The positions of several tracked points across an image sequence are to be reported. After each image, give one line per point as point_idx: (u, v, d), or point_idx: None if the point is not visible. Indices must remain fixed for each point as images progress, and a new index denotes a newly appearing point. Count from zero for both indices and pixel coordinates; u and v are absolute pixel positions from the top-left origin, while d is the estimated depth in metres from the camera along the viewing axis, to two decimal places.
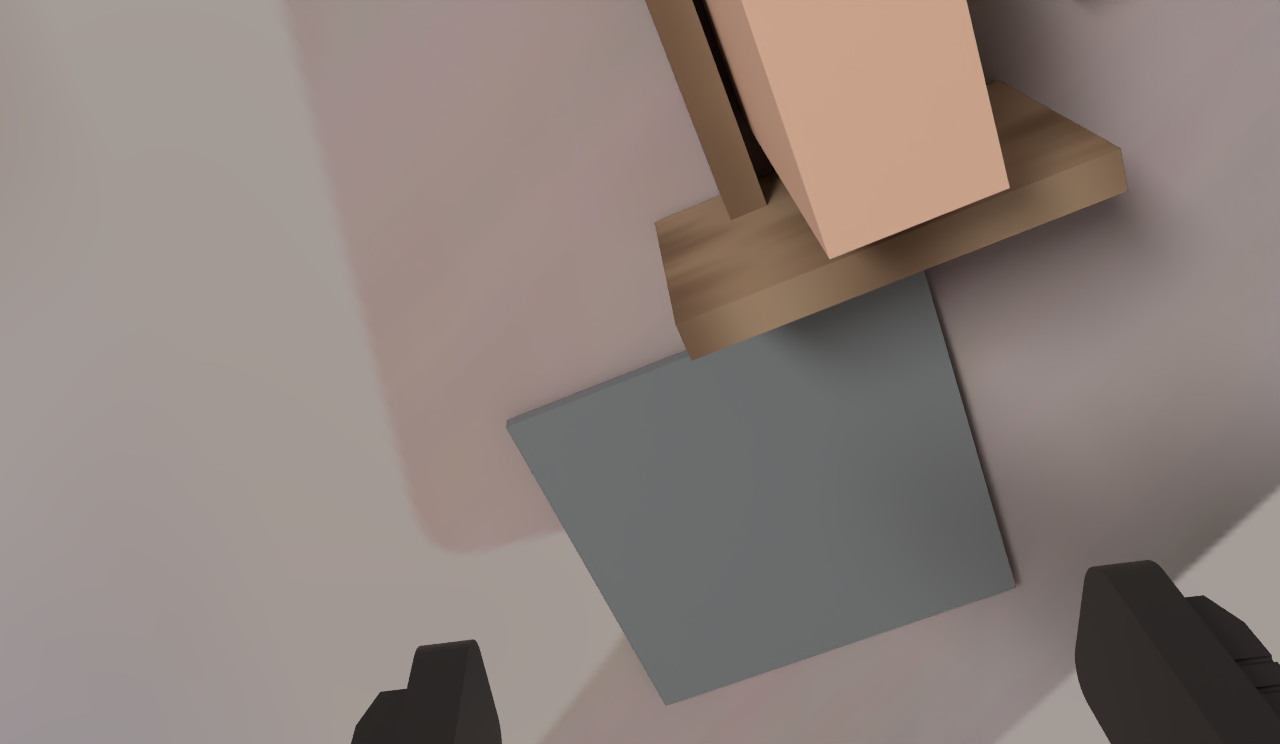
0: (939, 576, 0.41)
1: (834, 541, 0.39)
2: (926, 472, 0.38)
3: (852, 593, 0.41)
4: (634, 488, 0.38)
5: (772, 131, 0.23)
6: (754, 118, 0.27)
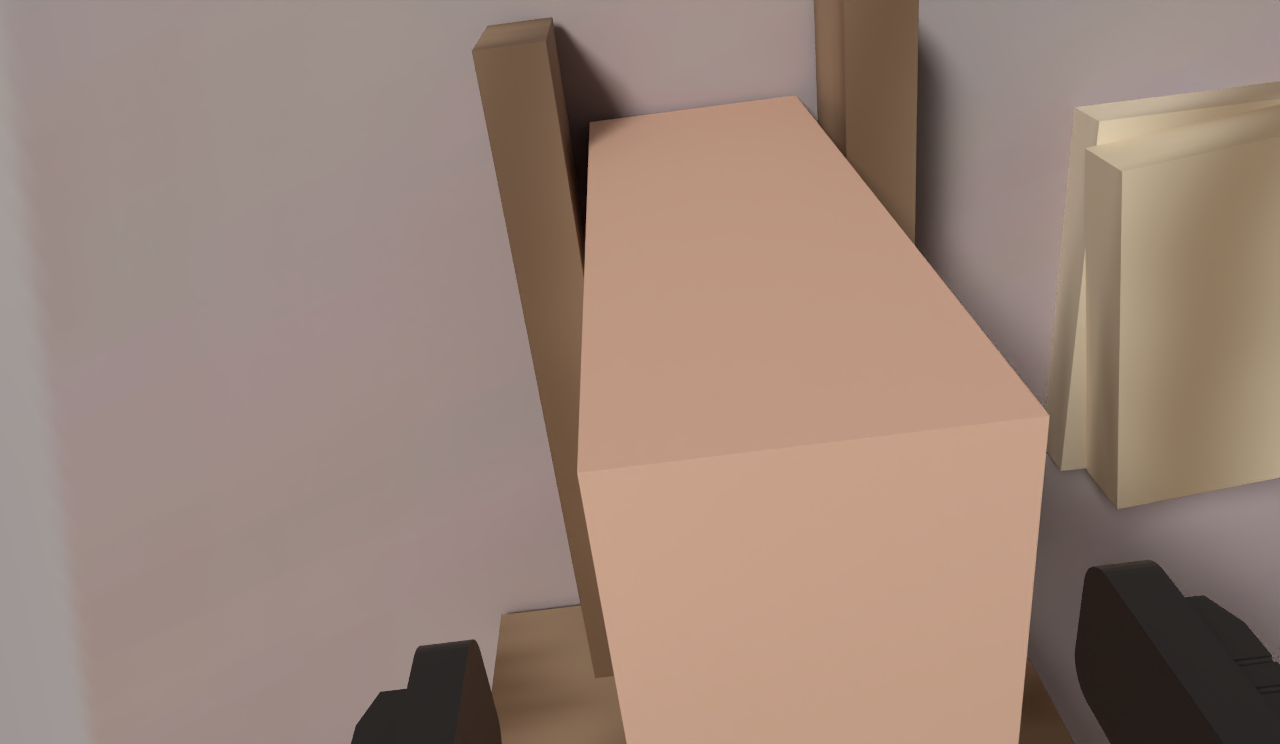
0: None
1: None
2: None
3: None
4: None
5: None
6: None
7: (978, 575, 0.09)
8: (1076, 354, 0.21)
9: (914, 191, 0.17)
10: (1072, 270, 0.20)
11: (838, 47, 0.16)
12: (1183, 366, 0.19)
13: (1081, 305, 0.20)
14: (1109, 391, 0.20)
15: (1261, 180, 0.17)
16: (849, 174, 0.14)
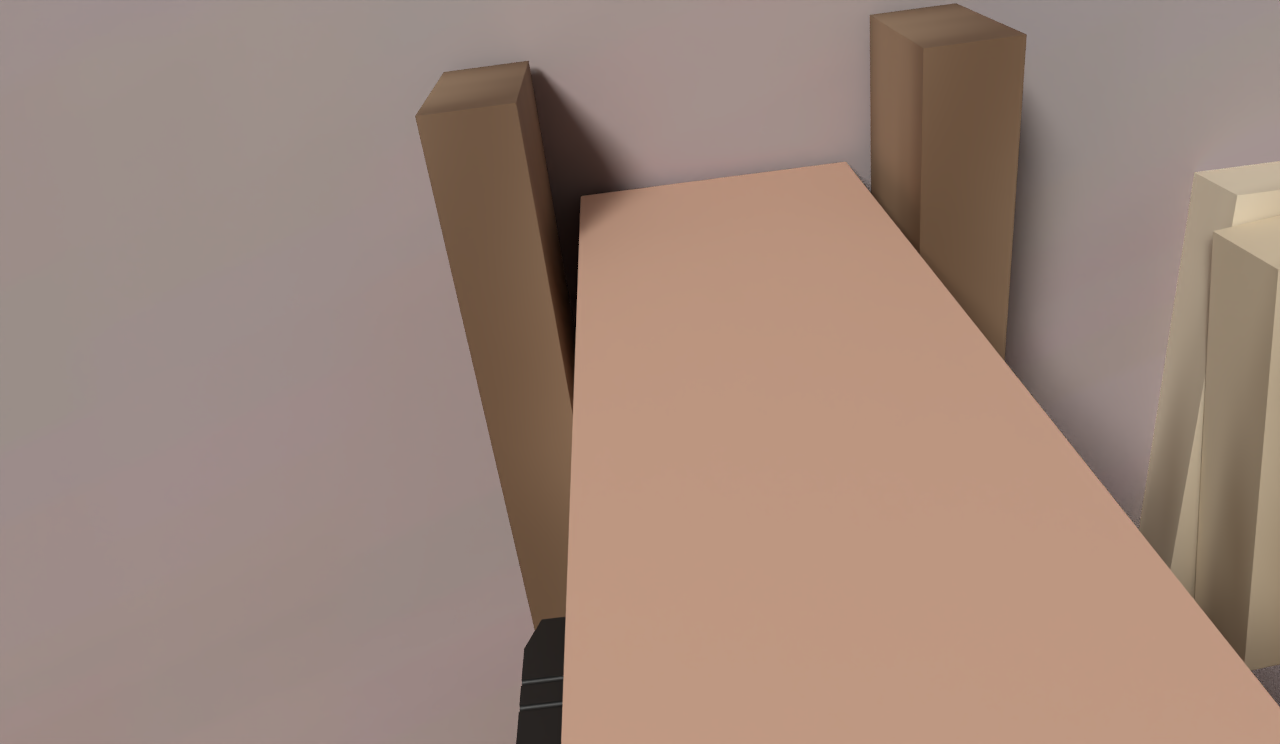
0: None
1: None
2: None
3: None
4: None
5: None
6: None
7: None
8: (1191, 476, 0.16)
9: (1007, 293, 0.13)
10: (1187, 374, 0.16)
11: (911, 106, 0.12)
12: None
13: (1200, 418, 0.16)
14: (1238, 532, 0.16)
15: None
16: (947, 305, 0.10)
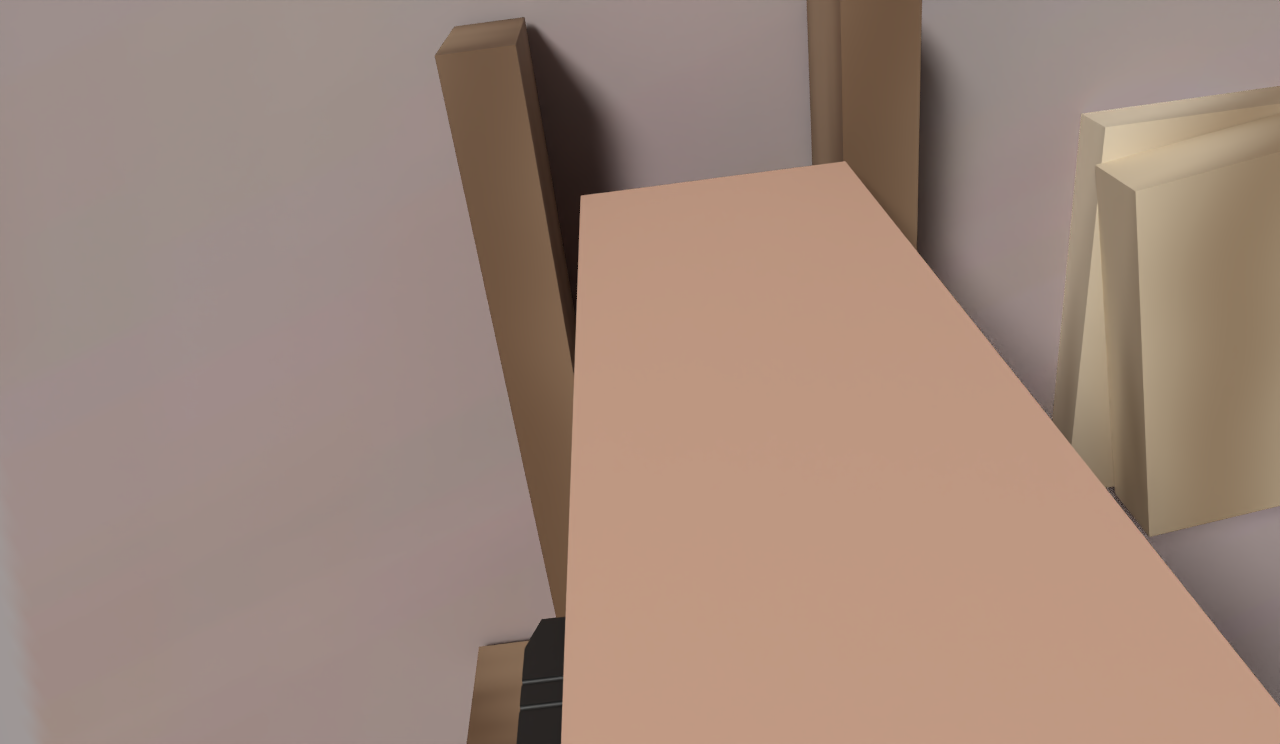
0: None
1: None
2: None
3: None
4: None
5: None
6: None
7: None
8: (1083, 372, 0.20)
9: (916, 205, 0.16)
10: (1077, 283, 0.19)
11: (834, 50, 0.15)
12: (1212, 388, 0.18)
13: (1087, 320, 0.19)
14: (1134, 416, 0.19)
15: None
16: (946, 304, 0.10)
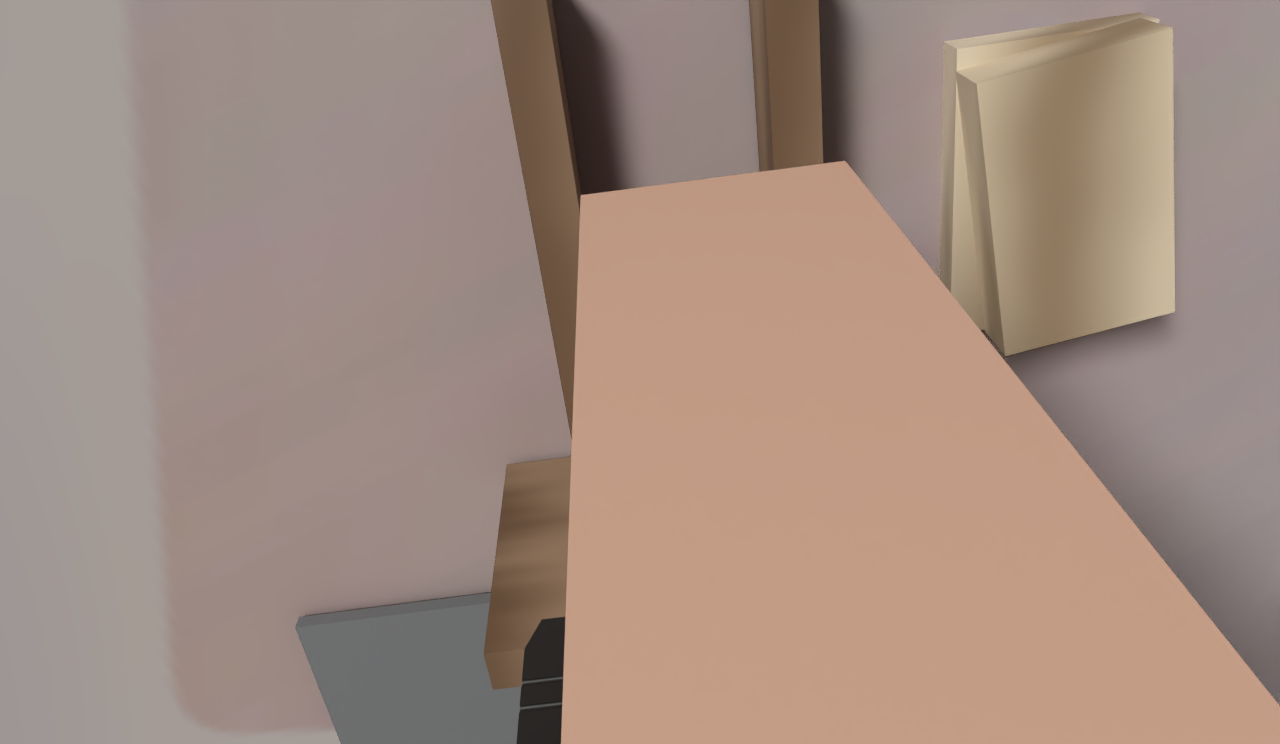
0: None
1: None
2: None
3: None
4: (423, 710, 0.34)
5: None
6: None
7: None
8: (955, 236, 0.26)
9: (820, 96, 0.23)
10: (948, 169, 0.26)
11: None
12: (1042, 236, 0.25)
13: (955, 196, 0.26)
14: (990, 260, 0.26)
15: (1082, 85, 0.23)
16: (946, 303, 0.10)
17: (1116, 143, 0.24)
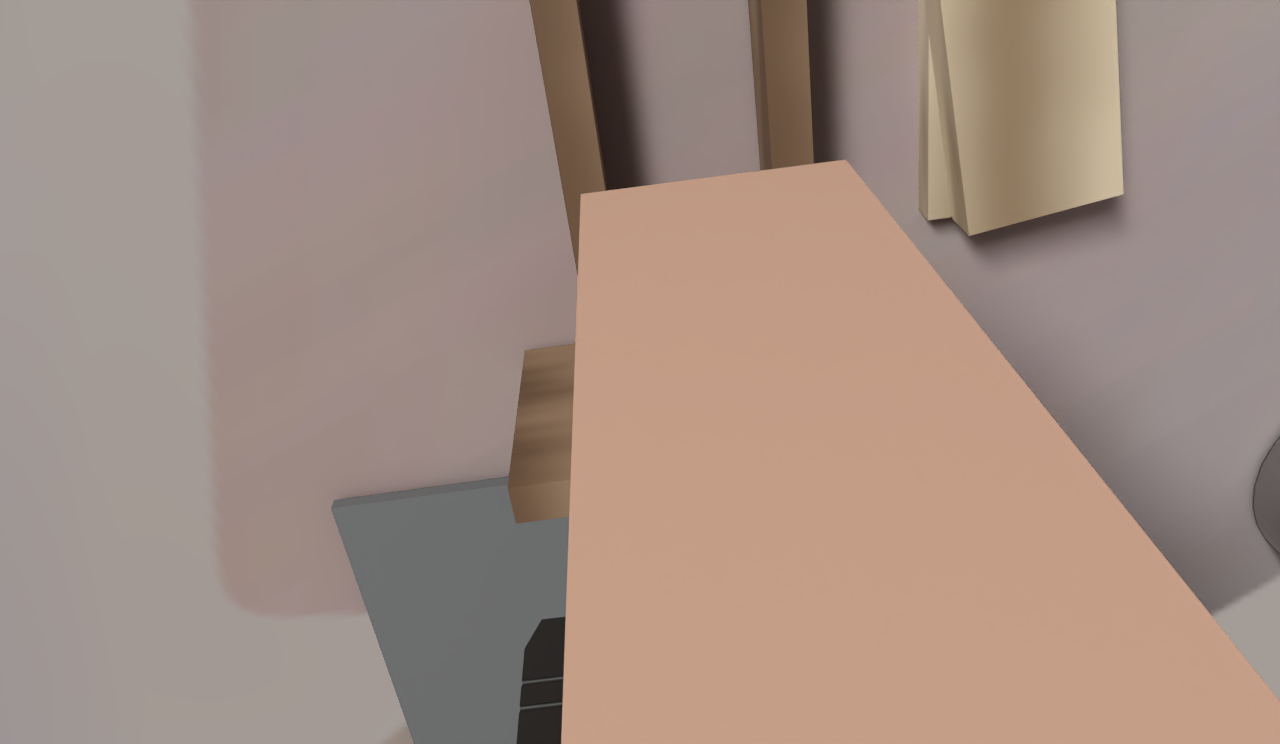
0: None
1: None
2: None
3: None
4: (448, 592, 0.37)
5: None
6: None
7: None
8: (930, 125, 0.29)
9: None
10: (923, 63, 0.29)
11: None
12: (1000, 120, 0.28)
13: (930, 87, 0.29)
14: (953, 144, 0.28)
15: None
16: (947, 301, 0.10)
17: (1064, 31, 0.26)
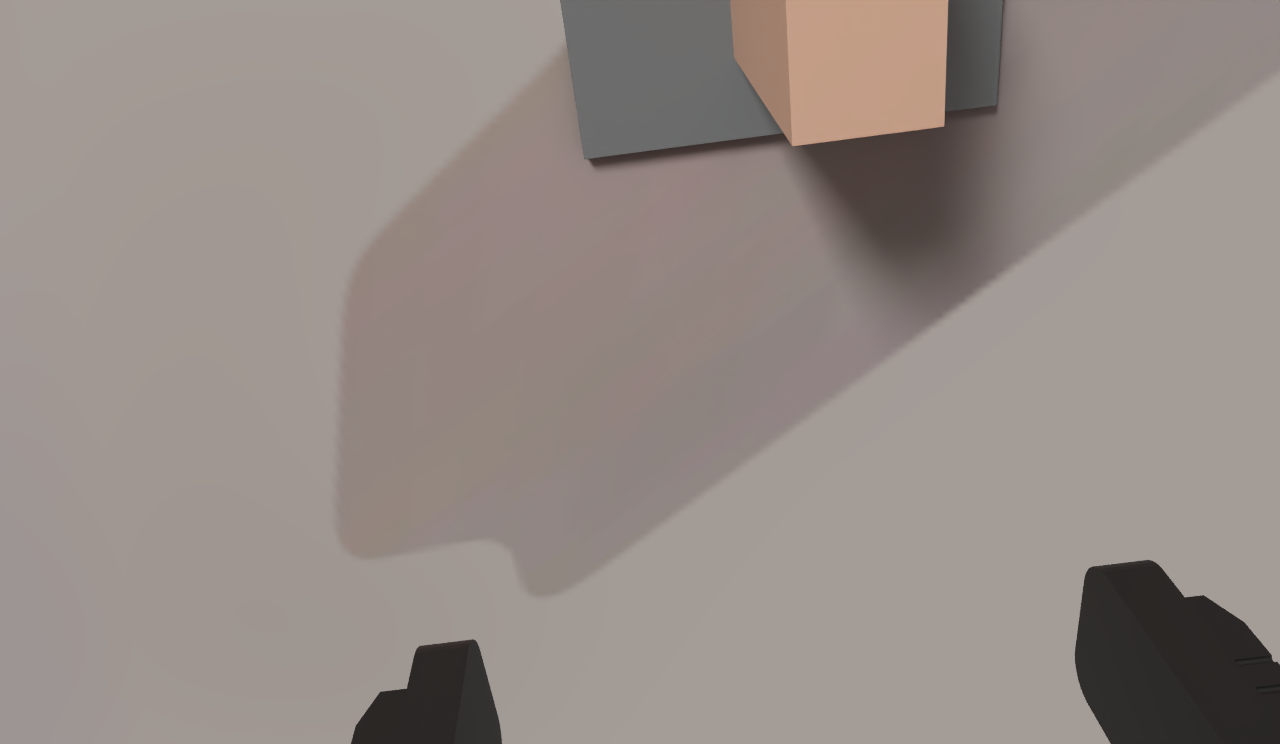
0: None
1: None
2: None
3: None
4: None
5: (768, 41, 0.27)
6: (748, 43, 0.31)
7: None
8: None
9: None
10: None
11: None
12: None
13: None
14: None
15: None
16: None
17: None
